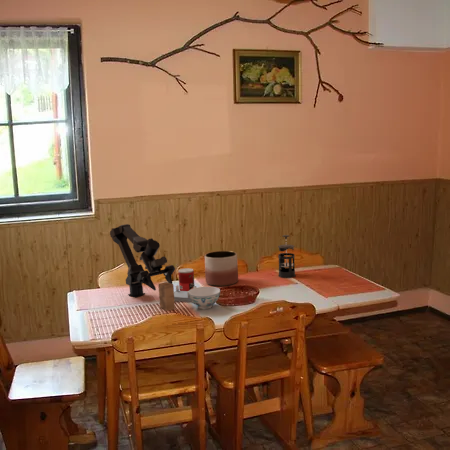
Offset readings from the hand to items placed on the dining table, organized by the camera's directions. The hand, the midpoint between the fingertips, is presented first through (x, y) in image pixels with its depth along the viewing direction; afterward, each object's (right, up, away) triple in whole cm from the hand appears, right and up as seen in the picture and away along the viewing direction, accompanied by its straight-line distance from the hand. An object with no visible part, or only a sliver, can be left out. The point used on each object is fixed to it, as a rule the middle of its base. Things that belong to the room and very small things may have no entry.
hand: (163, 287), depth 262 cm
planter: (+27, -2, +40) cm, 49 cm away
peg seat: (+8, -7, +15) cm, 18 cm away
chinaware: (+20, -9, 0) cm, 22 cm away
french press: (+63, +1, +48) cm, 79 cm away
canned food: (+9, -5, +28) cm, 30 cm away
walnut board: (+2, -10, 0) cm, 10 cm away
